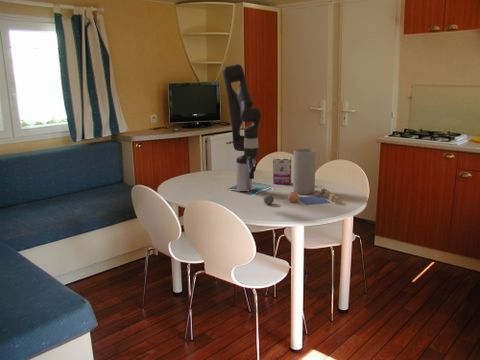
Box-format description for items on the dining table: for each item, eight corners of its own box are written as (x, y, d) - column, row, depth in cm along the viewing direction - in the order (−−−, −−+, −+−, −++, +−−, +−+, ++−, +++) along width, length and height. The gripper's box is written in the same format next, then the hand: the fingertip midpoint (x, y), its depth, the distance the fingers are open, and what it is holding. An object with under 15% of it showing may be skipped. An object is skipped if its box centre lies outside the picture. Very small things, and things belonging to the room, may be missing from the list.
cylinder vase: (317, 190, 274) (318, 149, 268) (309, 195, 263) (310, 153, 257) (298, 188, 280) (298, 148, 274) (289, 193, 270) (290, 151, 264)
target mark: (297, 197, 260) (297, 197, 260) (320, 196, 263) (320, 195, 263) (306, 204, 246) (306, 204, 246) (330, 202, 249) (330, 202, 249)
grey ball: (262, 203, 251) (262, 193, 250) (272, 202, 252) (272, 192, 251) (265, 206, 246) (265, 195, 244) (275, 205, 247) (275, 195, 246)
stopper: (320, 194, 266) (321, 188, 265) (324, 194, 266) (324, 188, 265) (335, 204, 247) (335, 197, 246) (338, 203, 247) (338, 197, 246)
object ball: (286, 201, 254) (286, 191, 253) (296, 200, 255) (296, 190, 254) (289, 203, 249) (290, 194, 247) (299, 203, 250) (299, 193, 249)
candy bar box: (291, 182, 293) (291, 157, 289) (290, 184, 289) (290, 159, 285) (274, 182, 296) (274, 157, 292) (273, 184, 291) (273, 158, 287)
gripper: (241, 144, 245) (241, 176, 249) (247, 149, 232) (247, 182, 236) (254, 144, 246) (255, 175, 251) (261, 148, 234) (261, 181, 238)
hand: (251, 178), depth 243 cm, fingers closed
